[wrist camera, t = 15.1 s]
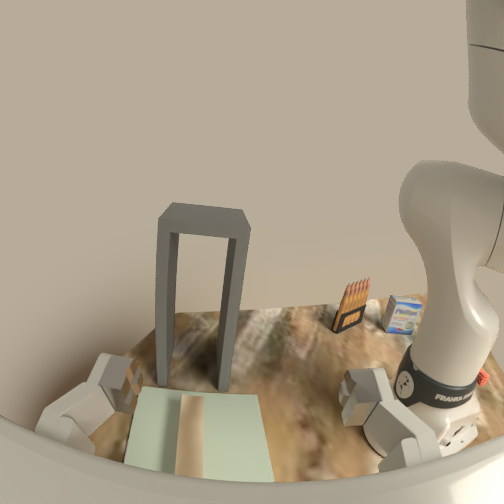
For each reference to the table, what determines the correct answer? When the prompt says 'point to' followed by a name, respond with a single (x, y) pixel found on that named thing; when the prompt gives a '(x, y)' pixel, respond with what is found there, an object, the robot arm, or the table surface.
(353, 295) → the ammunition clip
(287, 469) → the table surface
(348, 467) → the table surface
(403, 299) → the medicine box
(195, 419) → the beech bar
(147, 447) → the mat
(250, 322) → the table surface
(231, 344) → the stand
